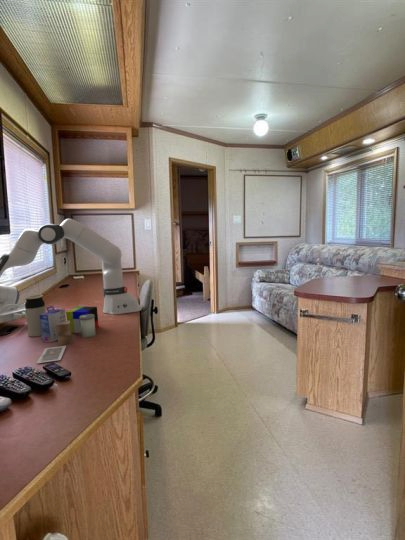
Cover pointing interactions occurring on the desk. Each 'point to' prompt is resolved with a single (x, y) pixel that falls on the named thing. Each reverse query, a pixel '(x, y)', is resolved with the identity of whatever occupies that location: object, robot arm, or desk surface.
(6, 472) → the desk surface
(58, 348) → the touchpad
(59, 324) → the brown cylindrical container
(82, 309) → the puzzle toy
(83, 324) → the sage canister
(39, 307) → the travel mug
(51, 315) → the ink cartridge box
